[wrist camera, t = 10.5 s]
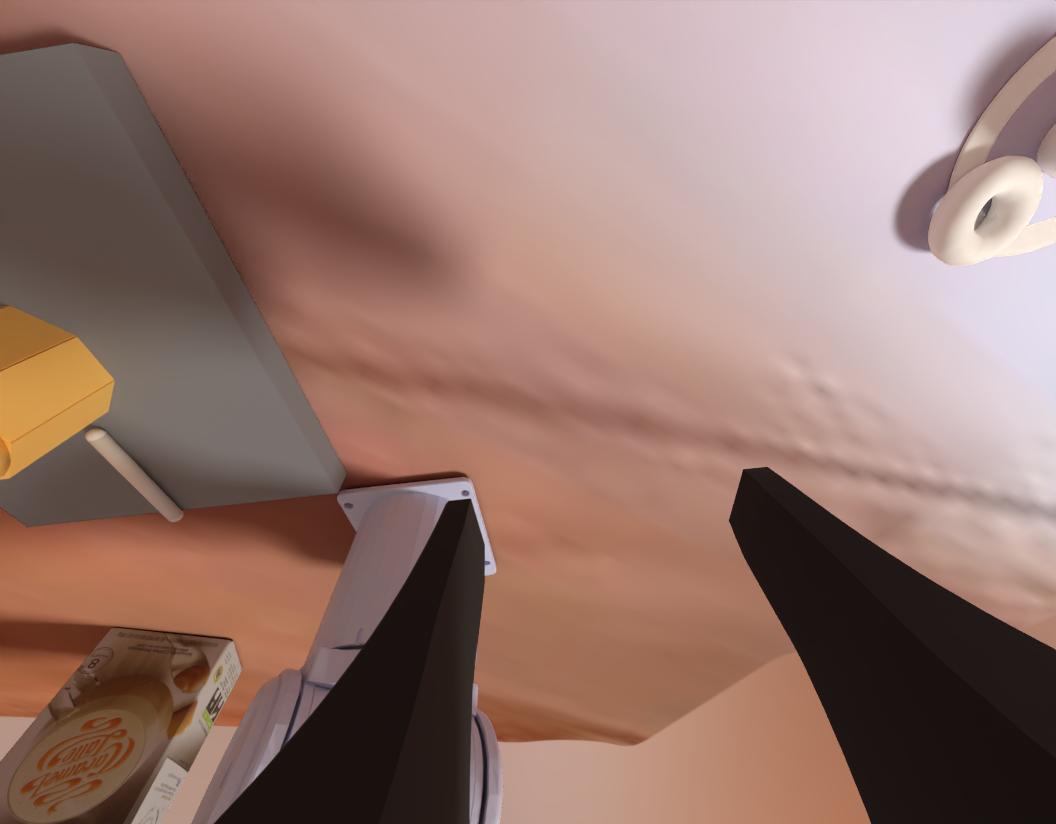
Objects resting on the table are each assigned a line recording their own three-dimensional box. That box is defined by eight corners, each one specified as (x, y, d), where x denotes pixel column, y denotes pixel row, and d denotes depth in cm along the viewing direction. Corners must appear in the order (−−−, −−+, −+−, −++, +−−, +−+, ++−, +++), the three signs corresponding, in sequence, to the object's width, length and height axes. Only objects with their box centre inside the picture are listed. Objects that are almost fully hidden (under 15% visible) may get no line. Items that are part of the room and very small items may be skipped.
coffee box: (234, 637, 33) (48, 970, 20) (243, 669, 36) (91, 970, 23) (108, 625, 31) (-188, 981, 18) (130, 659, 35) (-103, 979, 21)
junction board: (349, 478, 22) (335, 507, 21) (57, 510, 23) (19, 541, 21) (119, 52, 12) (48, 37, 10) (-406, 137, 13) (-557, 137, 11)
